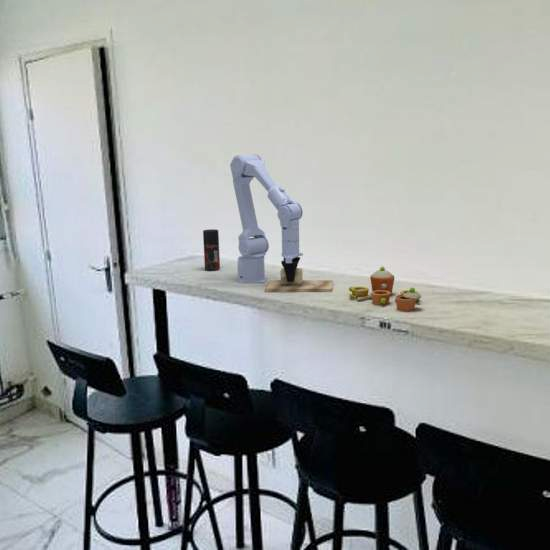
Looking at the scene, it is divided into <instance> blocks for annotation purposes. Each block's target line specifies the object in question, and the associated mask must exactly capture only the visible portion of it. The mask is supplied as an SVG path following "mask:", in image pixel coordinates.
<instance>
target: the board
mask: <svg viewBox="0 0 550 550" xmlns="http://www.w3.org/2000/svg"><path fill="white" fill-rule="evenodd" d="M333 288H334V280H327V279H326V280H320V279H319V280H316V279H315V280H303V283H302V286H281V279H269V280H268V282H267V284H266V285H265V287H264V293H333Z"/></svg>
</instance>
